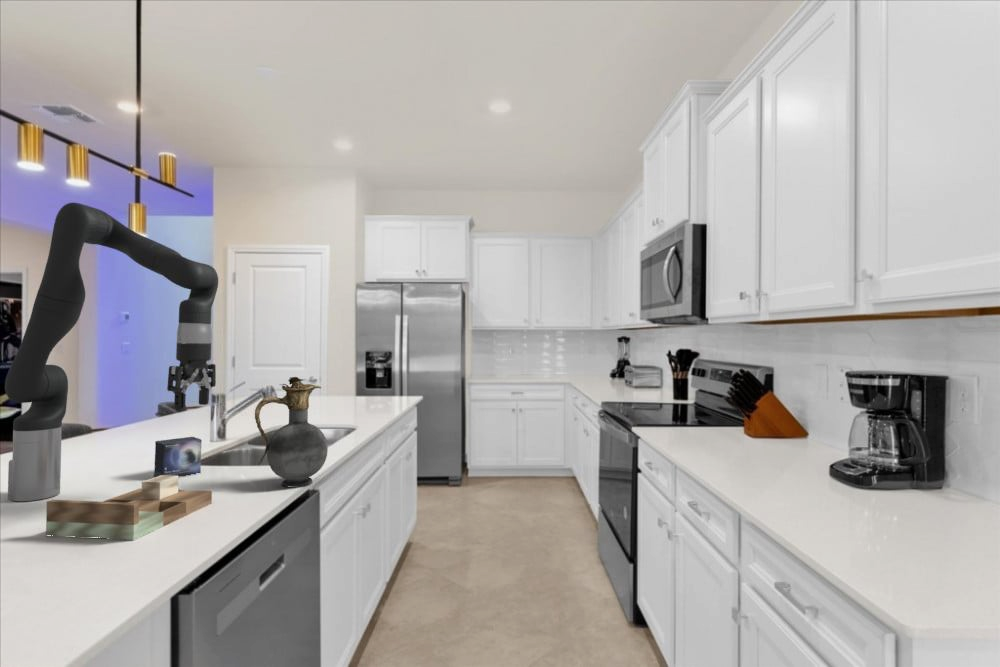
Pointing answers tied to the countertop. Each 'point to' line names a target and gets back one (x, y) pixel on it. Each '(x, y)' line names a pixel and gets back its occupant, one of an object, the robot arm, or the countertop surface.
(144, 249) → the robot arm
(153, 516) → the wooden compartment tray
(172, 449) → the small box
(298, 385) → the pitcher
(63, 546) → the countertop surface
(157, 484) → the block
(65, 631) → the countertop surface
